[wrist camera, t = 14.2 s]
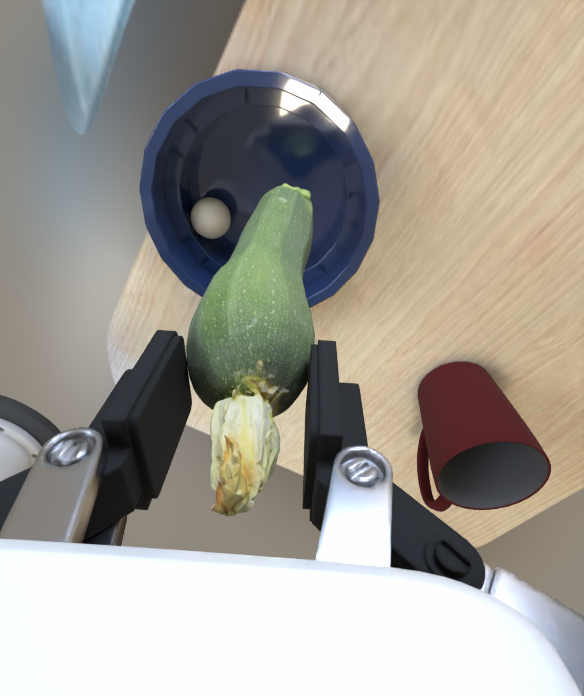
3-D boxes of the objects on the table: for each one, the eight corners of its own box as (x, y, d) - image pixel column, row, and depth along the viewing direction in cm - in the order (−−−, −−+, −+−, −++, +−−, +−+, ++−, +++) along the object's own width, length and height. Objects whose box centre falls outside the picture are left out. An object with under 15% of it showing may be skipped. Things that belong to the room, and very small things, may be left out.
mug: (440, 446, 46) (470, 537, 37) (377, 418, 44) (391, 507, 35) (518, 376, 40) (576, 466, 31) (447, 341, 38) (488, 425, 29)
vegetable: (294, 247, 26) (264, 590, 10) (232, 218, 25) (97, 553, 9) (328, 185, 23) (354, 522, 8) (260, 149, 22) (137, 459, 7)
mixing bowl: (181, 277, 36) (159, 309, 31) (154, 65, 27) (117, 62, 22) (354, 288, 35) (359, 322, 30) (385, 77, 26) (400, 77, 22)
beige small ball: (230, 243, 30) (243, 208, 30) (196, 222, 28) (211, 184, 28) (210, 247, 32) (222, 214, 33) (178, 228, 30) (191, 193, 31)
